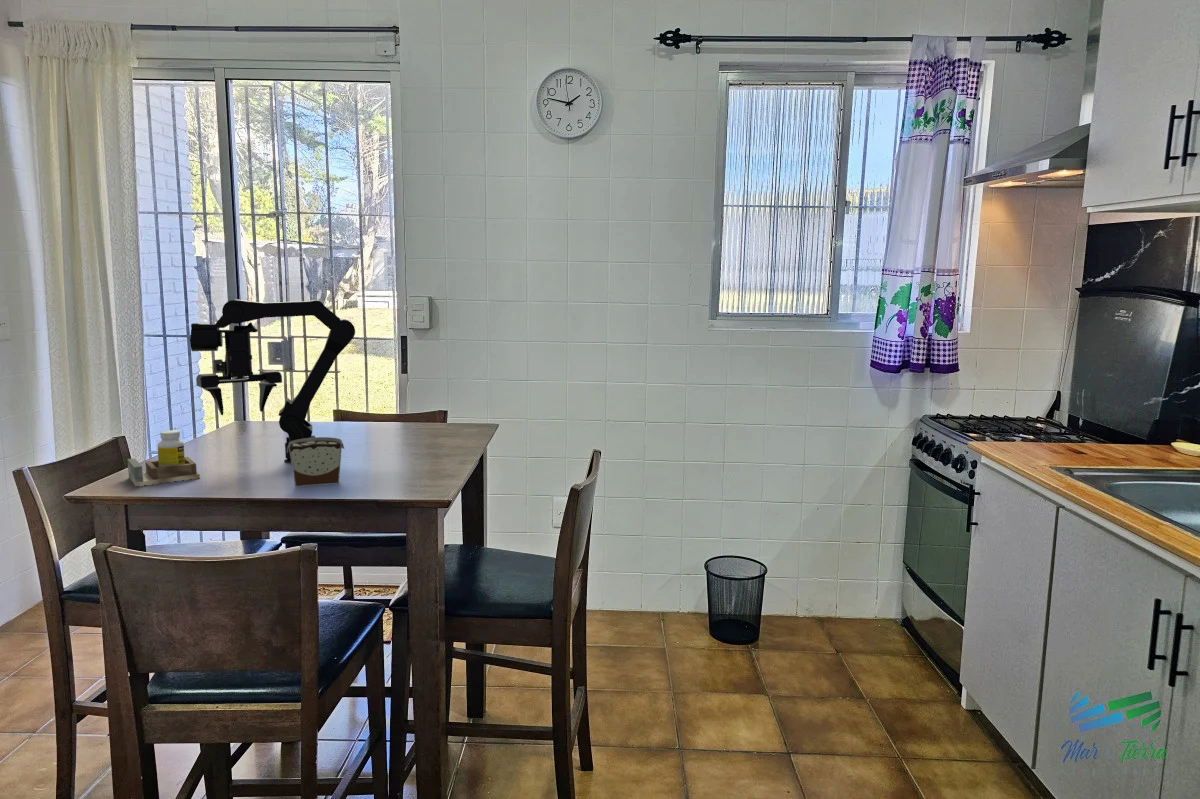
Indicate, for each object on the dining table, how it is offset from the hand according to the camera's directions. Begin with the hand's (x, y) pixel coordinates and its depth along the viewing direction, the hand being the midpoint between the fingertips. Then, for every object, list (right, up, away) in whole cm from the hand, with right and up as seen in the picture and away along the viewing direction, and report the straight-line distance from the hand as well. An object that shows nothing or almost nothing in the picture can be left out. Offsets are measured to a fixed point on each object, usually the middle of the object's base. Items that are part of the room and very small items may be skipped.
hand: (241, 413), depth 195 cm
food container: (+24, -16, -15) cm, 32 cm away
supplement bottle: (-11, -14, -12) cm, 21 cm away
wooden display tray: (-12, -15, -13) cm, 23 cm away
